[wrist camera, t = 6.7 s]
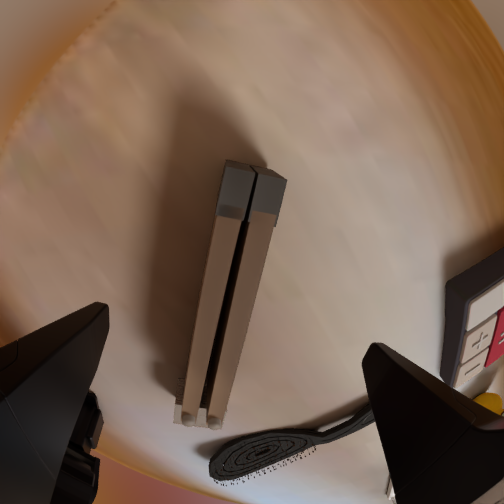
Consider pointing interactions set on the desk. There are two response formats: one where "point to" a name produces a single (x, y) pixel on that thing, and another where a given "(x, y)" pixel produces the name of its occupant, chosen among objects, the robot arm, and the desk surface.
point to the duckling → (491, 402)
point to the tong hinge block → (202, 408)
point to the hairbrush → (276, 447)
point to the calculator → (473, 320)
